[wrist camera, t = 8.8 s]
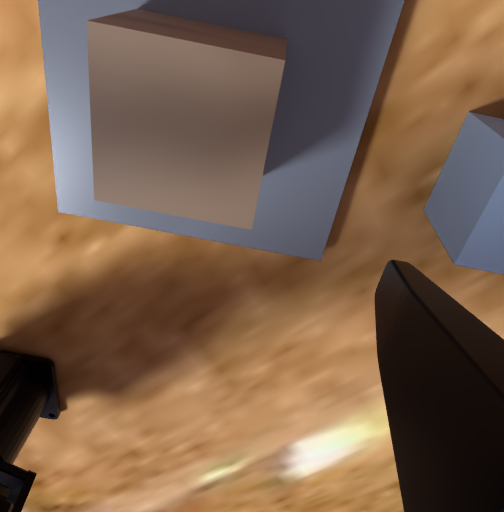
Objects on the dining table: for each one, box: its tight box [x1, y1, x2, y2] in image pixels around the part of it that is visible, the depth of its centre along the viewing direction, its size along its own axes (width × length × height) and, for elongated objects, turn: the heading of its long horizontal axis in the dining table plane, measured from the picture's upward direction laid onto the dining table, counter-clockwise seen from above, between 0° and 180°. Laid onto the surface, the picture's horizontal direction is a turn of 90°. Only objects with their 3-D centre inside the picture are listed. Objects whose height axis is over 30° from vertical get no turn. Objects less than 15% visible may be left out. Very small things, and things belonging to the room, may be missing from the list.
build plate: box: [38, 0, 405, 261], centre depth 19 cm, size 14×14×1 cm
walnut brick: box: [86, 9, 287, 230], centre depth 16 cm, size 6×6×5 cm
